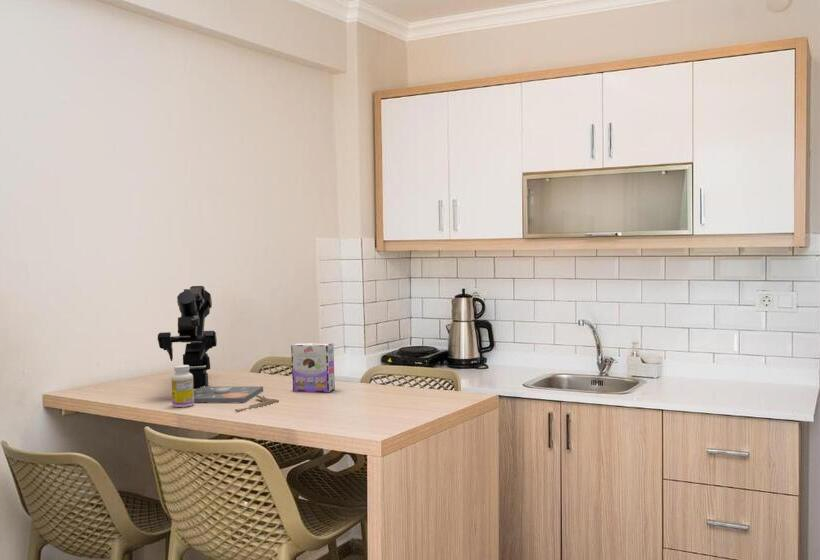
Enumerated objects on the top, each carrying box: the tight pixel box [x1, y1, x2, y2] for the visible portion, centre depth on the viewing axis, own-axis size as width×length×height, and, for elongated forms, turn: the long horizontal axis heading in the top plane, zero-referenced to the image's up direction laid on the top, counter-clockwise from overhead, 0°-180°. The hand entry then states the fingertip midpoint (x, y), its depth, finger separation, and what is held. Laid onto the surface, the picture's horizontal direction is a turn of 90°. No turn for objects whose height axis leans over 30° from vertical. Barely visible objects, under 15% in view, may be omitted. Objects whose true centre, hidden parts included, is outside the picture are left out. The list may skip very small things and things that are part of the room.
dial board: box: [194, 386, 264, 404], centre depth 273 cm, size 22×21×3 cm
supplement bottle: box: [171, 364, 195, 408], centre depth 259 cm, size 7×7×13 cm
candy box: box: [290, 342, 336, 393], centre depth 280 cm, size 14×6×16 cm, turn 71°
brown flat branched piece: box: [234, 394, 280, 413], centre depth 257 cm, size 9×20×2 cm, turn 172°
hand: (185, 359), depth 267 cm, fingers open, 9 cm apart
